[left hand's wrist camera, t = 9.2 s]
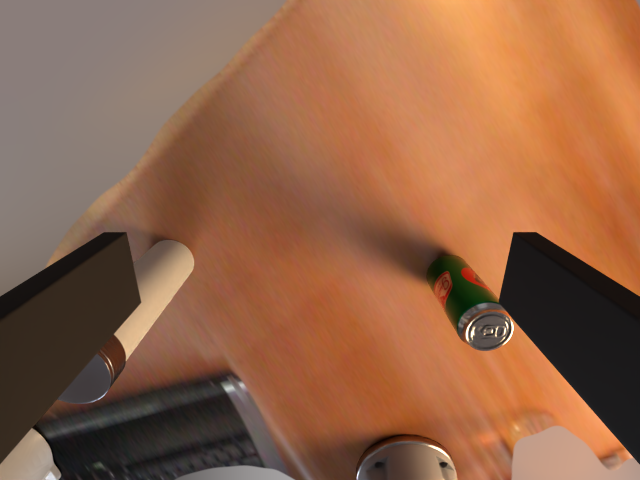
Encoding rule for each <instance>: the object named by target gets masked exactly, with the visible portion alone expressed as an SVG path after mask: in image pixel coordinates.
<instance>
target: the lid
mask: <svg viewBox="0 0 640 480" xmlns="http://www.w3.org/2000/svg"><path fill="white" fill-rule="evenodd" d="M125 363H126V353H125V350H124V347H123V345H122V343H121V342H120V340H119V339H118V338H117V337H116V336H115V335H113V336H112V337H111V338H110V339H109V340H108V342H107V343H106V344H105V345H104V346H103V347H102V348H101V350H100V351H99V352H98V353H97V354H96V355H95V356H94V358H93V359H92V360H91V361H90V362H89V363H88V364H87V366H86V367H85V368H84V369H83V370H82V371H81V372H80V374H79V375H78V376H77V377H76V378H75V379H74V380H73V382H72V383H71V384H70V385H69V386H68V387H67V388H66V390H65V391H64V392H63V393H62V394H61V395H60V397H59V398H58V400H61V401H64V402H68V403H76V404H83V403H90V402H93V401H96V400H98V399H100V398H101V397H103V396H104V395H105V394H106V393H107V391H108V390H109V388H110V387H111V386H112V384H113V383H114V382H115V380H116V379H117V378H118V376H119V375H120V373H121V372H122V371H123V369H124V367H125Z"/></svg>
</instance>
